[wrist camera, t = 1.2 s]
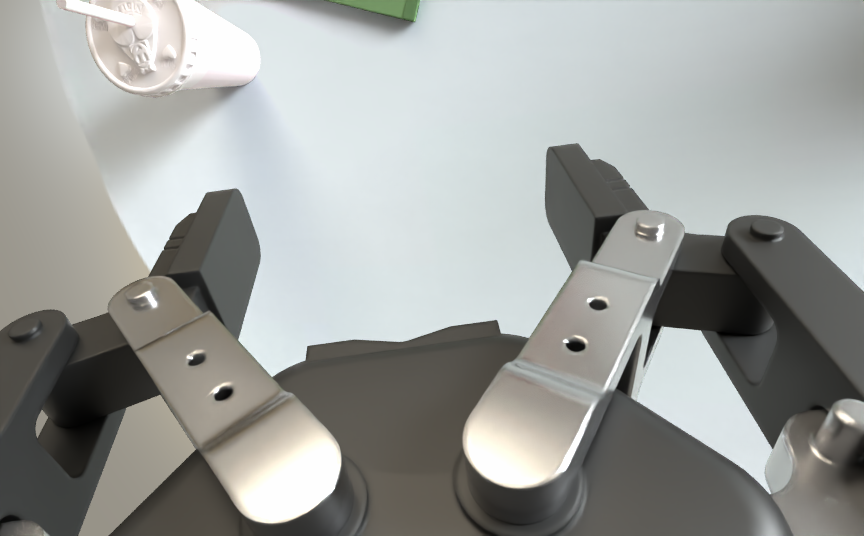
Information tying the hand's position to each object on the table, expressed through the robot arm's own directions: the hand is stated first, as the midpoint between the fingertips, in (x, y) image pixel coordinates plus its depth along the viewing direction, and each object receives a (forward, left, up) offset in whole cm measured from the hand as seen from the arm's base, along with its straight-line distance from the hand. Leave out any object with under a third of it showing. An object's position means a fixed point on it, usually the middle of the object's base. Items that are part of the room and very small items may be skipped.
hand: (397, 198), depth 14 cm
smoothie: (-2, -19, -23) cm, 30 cm away
